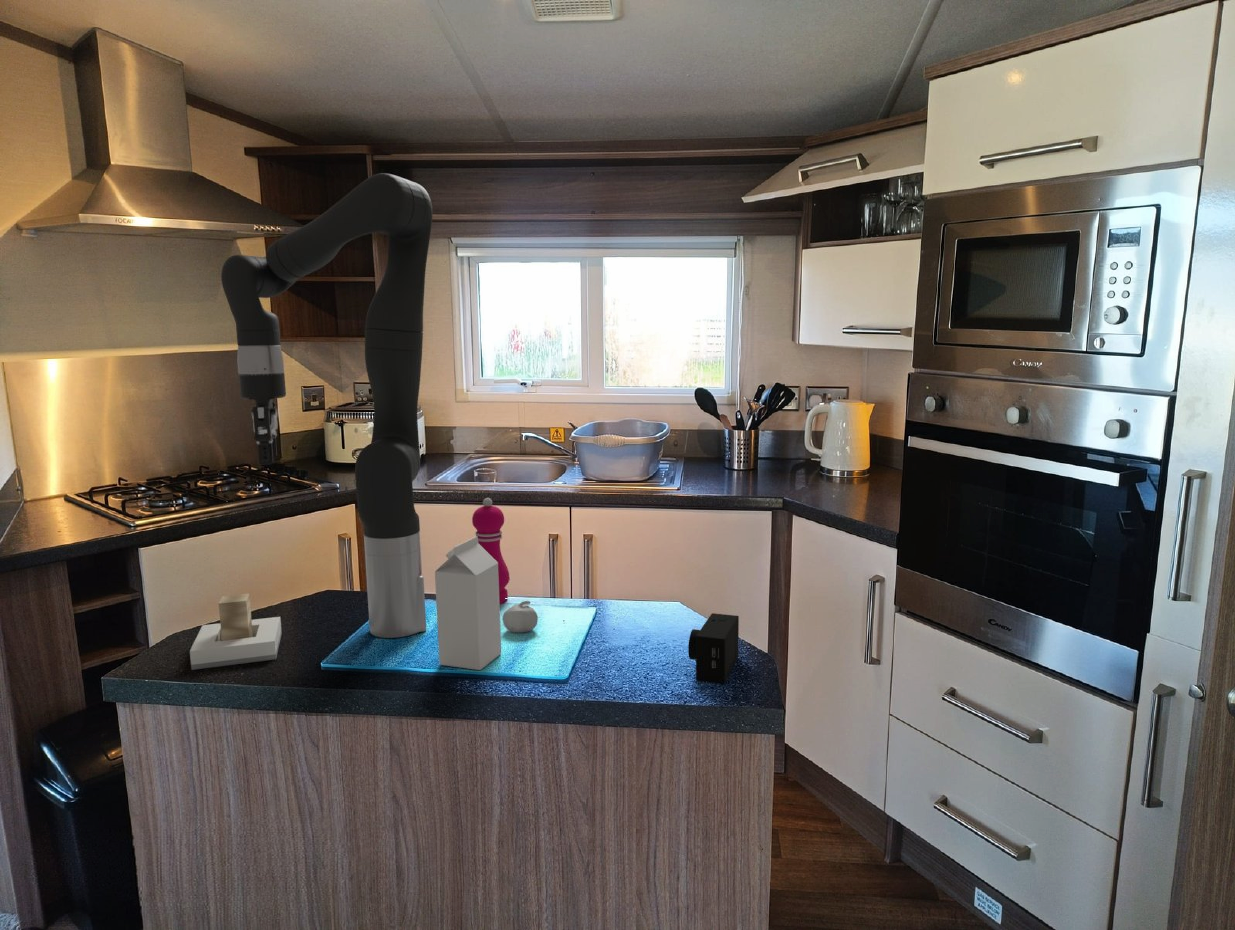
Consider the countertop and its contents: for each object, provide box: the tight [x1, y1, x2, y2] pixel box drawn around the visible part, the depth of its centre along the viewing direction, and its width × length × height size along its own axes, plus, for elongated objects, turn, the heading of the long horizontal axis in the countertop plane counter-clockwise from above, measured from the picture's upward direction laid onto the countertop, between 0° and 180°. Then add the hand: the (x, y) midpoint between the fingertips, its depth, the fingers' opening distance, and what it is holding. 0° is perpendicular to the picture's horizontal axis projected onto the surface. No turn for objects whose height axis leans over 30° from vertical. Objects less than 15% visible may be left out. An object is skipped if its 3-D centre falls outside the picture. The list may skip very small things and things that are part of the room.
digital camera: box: [687, 613, 740, 685], centre depth 121 cm, size 10×5×7 cm, turn 161°
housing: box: [189, 616, 283, 671], centre depth 131 cm, size 12×12×3 cm
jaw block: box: [218, 592, 253, 641], centre depth 131 cm, size 4×4×8 cm
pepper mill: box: [471, 497, 510, 605], centre depth 153 cm, size 7×7×20 cm
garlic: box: [502, 600, 539, 634], centre depth 138 cm, size 6×5×5 cm
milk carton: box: [434, 535, 502, 671], centre depth 125 cm, size 7×7×19 cm
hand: (268, 461), depth 146 cm, fingers open, 8 cm apart
